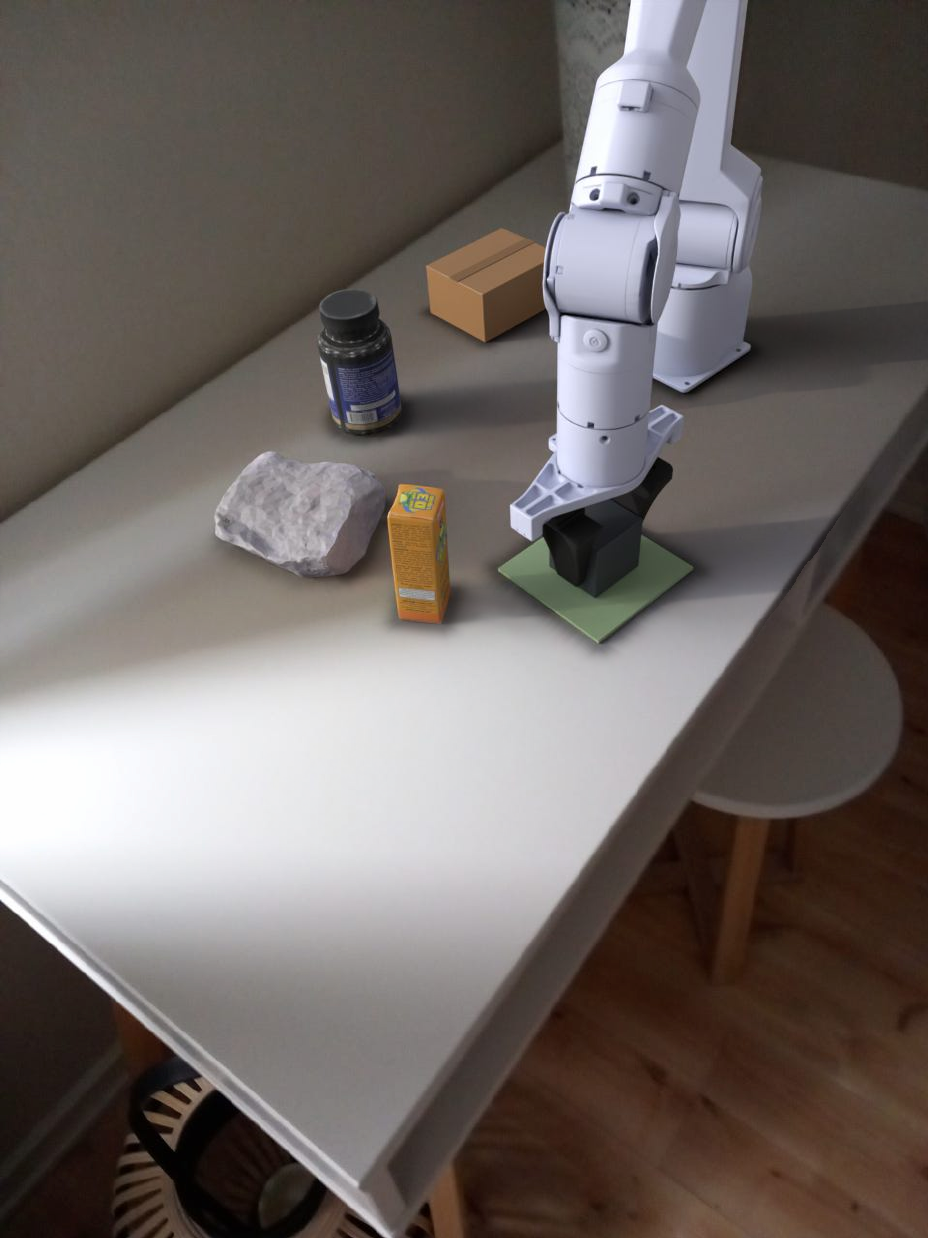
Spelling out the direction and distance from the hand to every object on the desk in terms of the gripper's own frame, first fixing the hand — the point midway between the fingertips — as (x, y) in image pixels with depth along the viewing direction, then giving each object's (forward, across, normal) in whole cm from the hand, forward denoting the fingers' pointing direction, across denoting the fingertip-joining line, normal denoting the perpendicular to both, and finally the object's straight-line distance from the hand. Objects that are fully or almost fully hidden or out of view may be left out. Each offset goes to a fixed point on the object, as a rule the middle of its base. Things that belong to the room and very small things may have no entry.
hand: (595, 559), depth 70 cm
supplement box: (+1, +11, -6) cm, 13 cm away
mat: (+1, 0, 0) cm, 1 cm away
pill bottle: (+1, 0, -27) cm, 27 cm away
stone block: (+1, +13, -19) cm, 23 cm away
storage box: (+1, -20, -32) cm, 38 cm away
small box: (+1, 0, 0) cm, 1 cm away
